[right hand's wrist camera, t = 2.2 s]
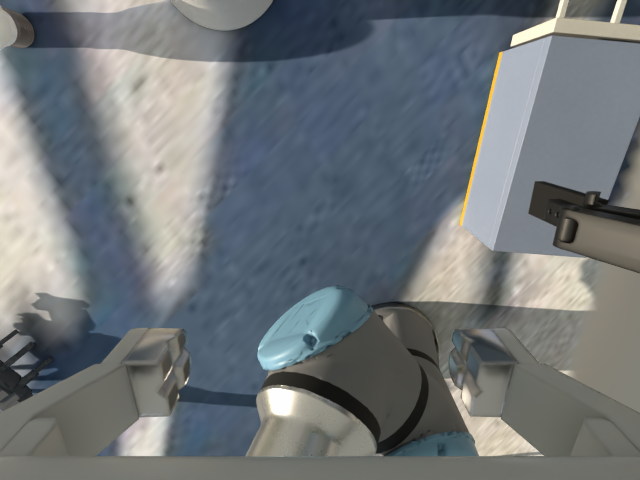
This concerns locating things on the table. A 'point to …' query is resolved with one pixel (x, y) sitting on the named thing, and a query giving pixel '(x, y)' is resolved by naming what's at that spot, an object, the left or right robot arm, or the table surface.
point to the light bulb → (14, 29)
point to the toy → (16, 378)
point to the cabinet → (550, 134)
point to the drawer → (581, 28)
